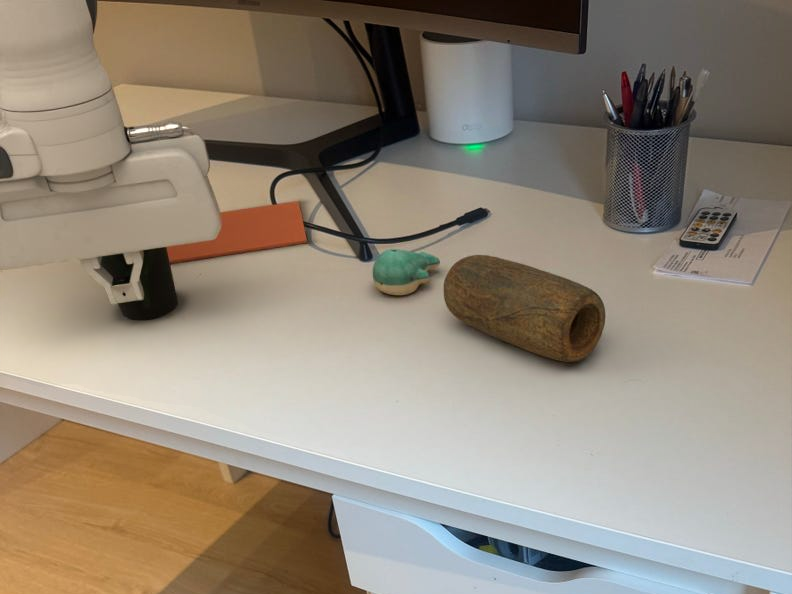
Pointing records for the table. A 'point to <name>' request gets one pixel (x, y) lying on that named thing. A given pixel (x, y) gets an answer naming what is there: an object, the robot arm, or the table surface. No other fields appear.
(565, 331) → the wooden vase
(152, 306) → the cup
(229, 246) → the flat orange rectangular block
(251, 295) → the table surface
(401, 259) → the whale figurine
